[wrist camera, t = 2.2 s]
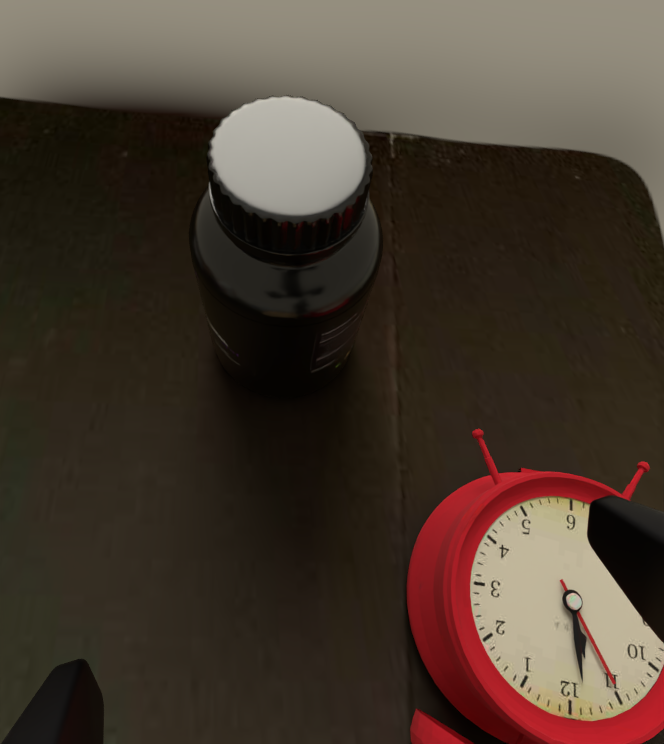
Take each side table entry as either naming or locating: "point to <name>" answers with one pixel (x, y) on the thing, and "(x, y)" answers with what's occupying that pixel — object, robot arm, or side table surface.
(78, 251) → the side table surface
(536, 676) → the alarm clock
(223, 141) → the supplement bottle
